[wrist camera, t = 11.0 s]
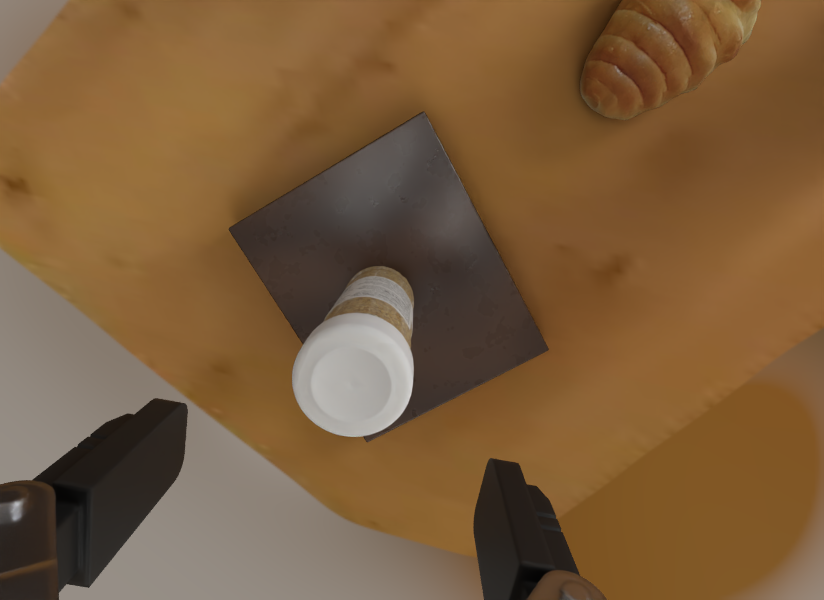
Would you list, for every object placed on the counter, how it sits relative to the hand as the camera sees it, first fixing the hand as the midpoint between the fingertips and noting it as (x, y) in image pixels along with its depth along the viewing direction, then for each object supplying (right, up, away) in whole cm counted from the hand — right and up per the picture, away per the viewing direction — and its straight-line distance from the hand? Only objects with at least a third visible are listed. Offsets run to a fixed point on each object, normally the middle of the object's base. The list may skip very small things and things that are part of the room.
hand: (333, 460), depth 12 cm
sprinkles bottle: (0, +4, +18) cm, 19 cm away
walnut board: (+1, +5, +19) cm, 20 cm away
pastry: (+17, +19, +16) cm, 30 cm away
